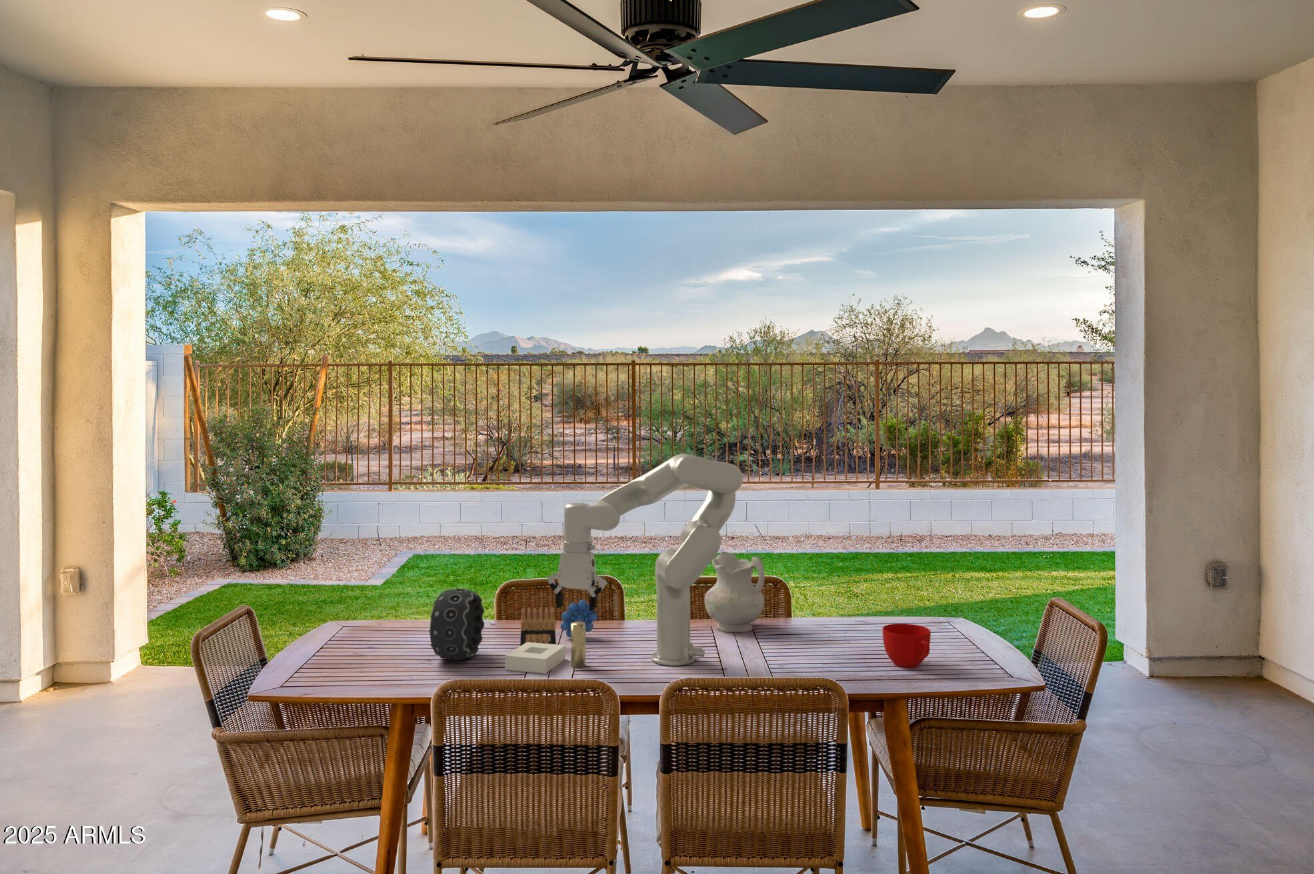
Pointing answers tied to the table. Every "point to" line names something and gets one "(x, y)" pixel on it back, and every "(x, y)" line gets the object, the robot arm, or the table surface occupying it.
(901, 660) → the ceramic cup
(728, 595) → the ceramic pitcher
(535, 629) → the ammunition clip
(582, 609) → the blue lumpy cluster
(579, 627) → the gold cylindrical peg
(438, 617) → the dark grey toy tire
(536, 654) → the white square socket block
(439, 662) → the table surface
